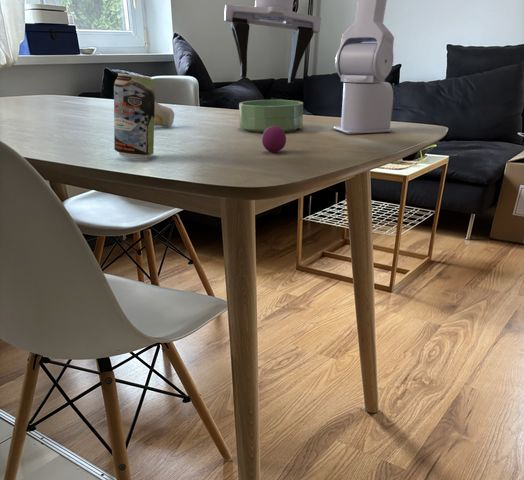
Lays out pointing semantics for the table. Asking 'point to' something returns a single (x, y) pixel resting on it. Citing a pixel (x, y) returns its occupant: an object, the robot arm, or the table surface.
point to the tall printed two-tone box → (134, 116)
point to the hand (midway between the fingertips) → (267, 80)
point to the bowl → (271, 115)
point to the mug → (163, 116)
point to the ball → (274, 139)
